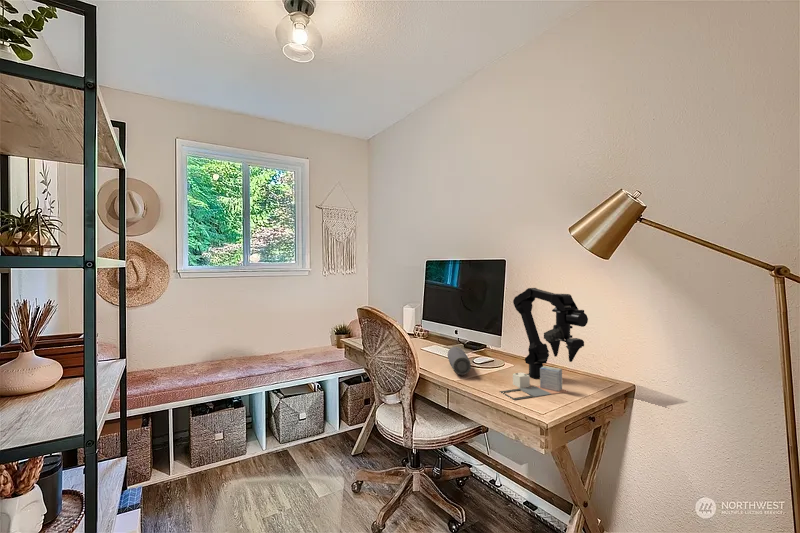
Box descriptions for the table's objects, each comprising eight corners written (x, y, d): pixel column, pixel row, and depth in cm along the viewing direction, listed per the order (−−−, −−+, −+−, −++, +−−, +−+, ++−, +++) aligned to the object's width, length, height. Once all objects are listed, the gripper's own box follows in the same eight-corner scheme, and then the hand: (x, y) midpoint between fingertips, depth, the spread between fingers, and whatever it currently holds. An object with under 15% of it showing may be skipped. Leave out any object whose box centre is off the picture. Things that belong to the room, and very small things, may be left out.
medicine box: (562, 389, 161) (562, 368, 161) (558, 392, 157) (558, 371, 157) (543, 385, 166) (543, 365, 166) (539, 387, 163) (539, 367, 162)
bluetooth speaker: (472, 377, 179) (472, 356, 179) (452, 377, 179) (452, 356, 179) (464, 364, 202) (464, 345, 202) (446, 364, 202) (446, 345, 202)
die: (512, 384, 168) (512, 373, 168) (522, 383, 170) (522, 372, 170) (520, 388, 163) (520, 376, 163) (529, 387, 165) (529, 375, 165)
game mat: (499, 392, 159) (499, 391, 159) (550, 384, 168) (550, 383, 168) (514, 400, 149) (514, 399, 149) (567, 391, 158) (567, 391, 158)
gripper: (533, 320, 171) (533, 355, 172) (562, 327, 154) (562, 366, 154) (554, 319, 175) (554, 353, 175) (585, 326, 157) (585, 364, 157)
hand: (562, 359), depth 165 cm, fingers open, 9 cm apart
